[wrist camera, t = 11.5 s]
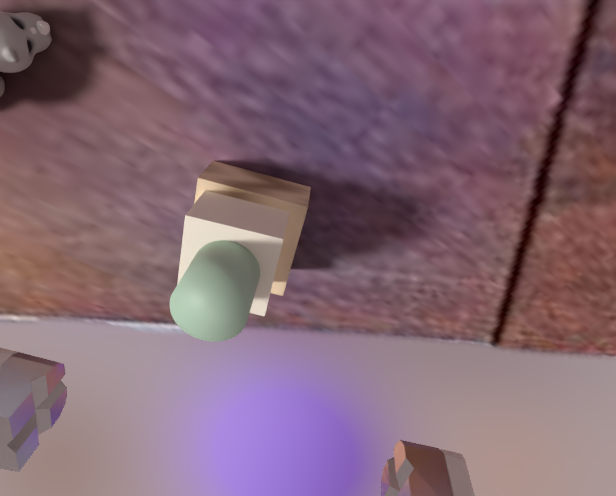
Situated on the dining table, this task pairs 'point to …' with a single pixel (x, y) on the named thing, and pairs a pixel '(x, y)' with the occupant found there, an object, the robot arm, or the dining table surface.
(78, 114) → the dining table surface
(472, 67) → the dining table surface
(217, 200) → the tower top
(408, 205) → the dining table surface
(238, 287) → the sage green capsule
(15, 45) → the round bodied animal figurine
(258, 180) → the tower base
